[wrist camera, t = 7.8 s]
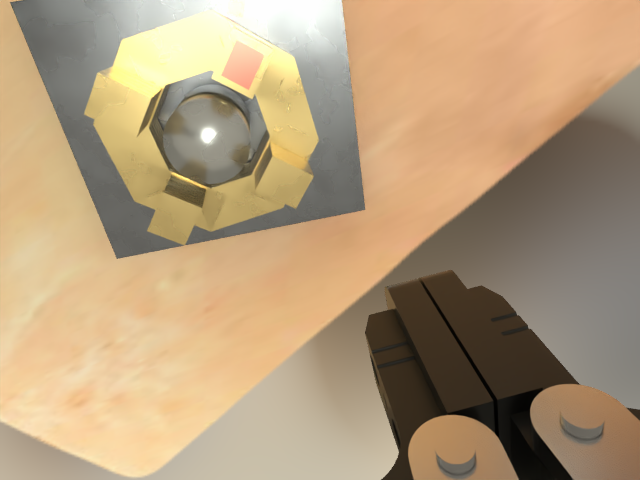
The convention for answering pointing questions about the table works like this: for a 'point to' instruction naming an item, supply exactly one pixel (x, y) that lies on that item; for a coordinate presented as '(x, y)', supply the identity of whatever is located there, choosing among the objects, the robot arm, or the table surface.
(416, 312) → the robot arm
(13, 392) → the table surface
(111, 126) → the ring nut
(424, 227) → the table surface
